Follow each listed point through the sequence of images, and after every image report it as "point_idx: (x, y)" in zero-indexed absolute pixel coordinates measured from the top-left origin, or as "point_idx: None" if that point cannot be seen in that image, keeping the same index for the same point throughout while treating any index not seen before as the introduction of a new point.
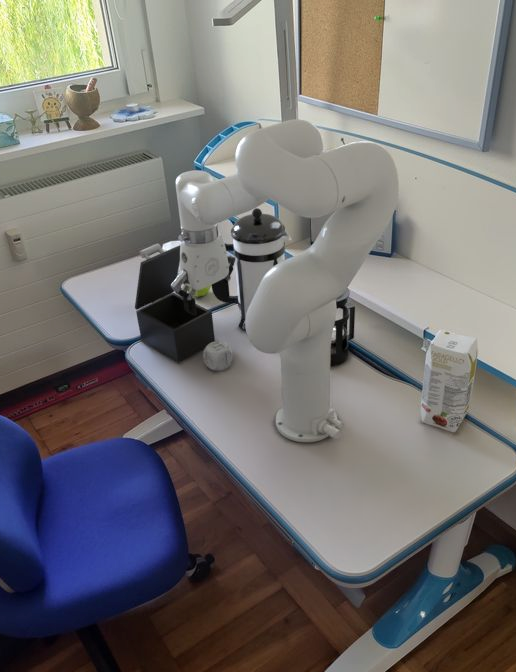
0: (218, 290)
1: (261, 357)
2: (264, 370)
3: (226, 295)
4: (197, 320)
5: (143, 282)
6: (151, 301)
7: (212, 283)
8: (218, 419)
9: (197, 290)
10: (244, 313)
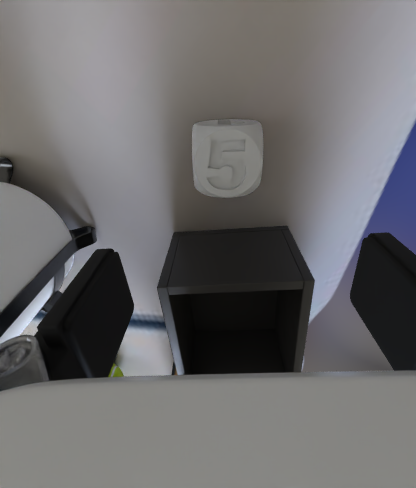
0: (126, 321)
1: (113, 88)
2: (142, 15)
3: (111, 260)
4: (217, 281)
5: None
6: None
7: (289, 384)
8: None
9: (110, 375)
10: (62, 249)
